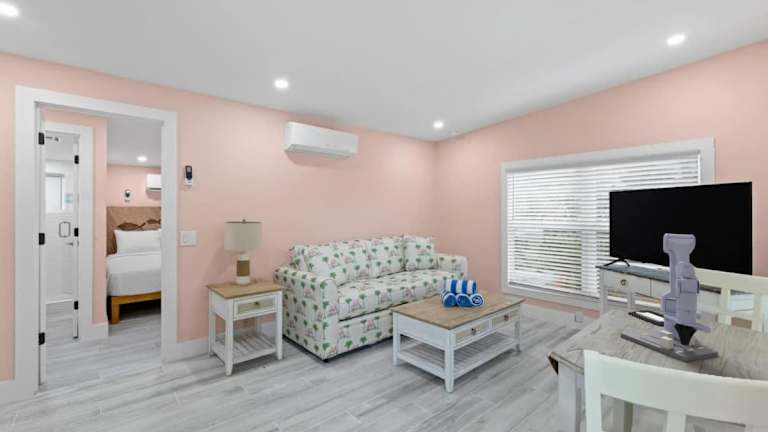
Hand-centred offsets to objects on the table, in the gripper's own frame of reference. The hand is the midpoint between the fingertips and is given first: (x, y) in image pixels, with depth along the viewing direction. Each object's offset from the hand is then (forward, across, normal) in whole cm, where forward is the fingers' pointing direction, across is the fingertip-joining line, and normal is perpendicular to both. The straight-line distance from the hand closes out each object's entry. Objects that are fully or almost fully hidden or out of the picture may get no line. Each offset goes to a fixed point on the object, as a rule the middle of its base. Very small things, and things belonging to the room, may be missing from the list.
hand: (684, 344), depth 129 cm
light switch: (+4, -30, +29) cm, 42 cm away
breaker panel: (+3, -6, 0) cm, 7 cm away
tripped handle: (+1, -7, 0) cm, 7 cm away
